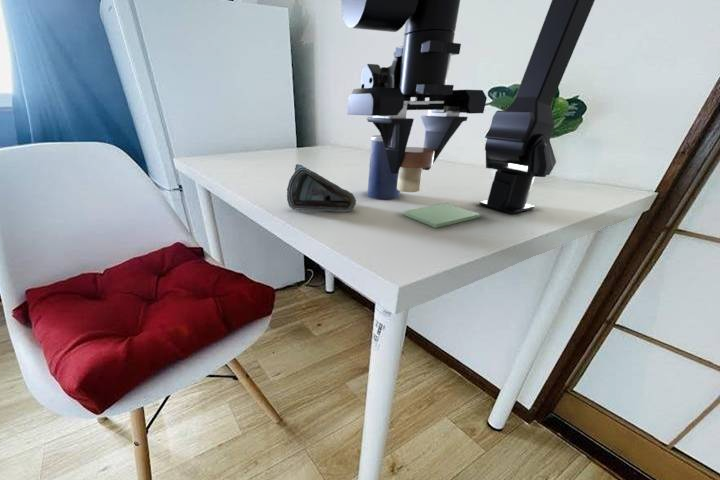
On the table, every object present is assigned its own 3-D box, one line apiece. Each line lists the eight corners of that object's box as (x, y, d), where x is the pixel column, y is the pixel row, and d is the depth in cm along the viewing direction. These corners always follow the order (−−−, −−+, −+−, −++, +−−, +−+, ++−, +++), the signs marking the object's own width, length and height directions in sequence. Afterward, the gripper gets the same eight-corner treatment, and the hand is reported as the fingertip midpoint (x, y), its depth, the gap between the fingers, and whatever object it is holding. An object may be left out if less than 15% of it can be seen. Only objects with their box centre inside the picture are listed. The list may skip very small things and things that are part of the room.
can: (385, 189, 66) (391, 134, 61) (406, 196, 61) (414, 137, 56) (360, 193, 63) (364, 135, 58) (380, 201, 58) (386, 139, 53)
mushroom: (409, 183, 48) (414, 146, 45) (436, 191, 43) (443, 150, 41) (380, 187, 45) (384, 148, 43) (406, 196, 41) (412, 153, 39)
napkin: (445, 206, 55) (446, 203, 55) (479, 217, 50) (480, 214, 49) (403, 214, 51) (403, 211, 51) (435, 228, 46) (436, 224, 45)
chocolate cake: (359, 202, 59) (317, 154, 58) (360, 202, 52) (312, 147, 51) (322, 235, 60) (281, 190, 60) (319, 239, 54) (272, 188, 53)
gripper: (433, 50, 46) (418, 158, 53) (326, 39, 38) (325, 168, 46) (503, 37, 37) (473, 169, 45) (382, 21, 30) (370, 183, 37)
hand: (410, 171), depth 43 cm, fingers closed on mushroom, 5 cm apart
